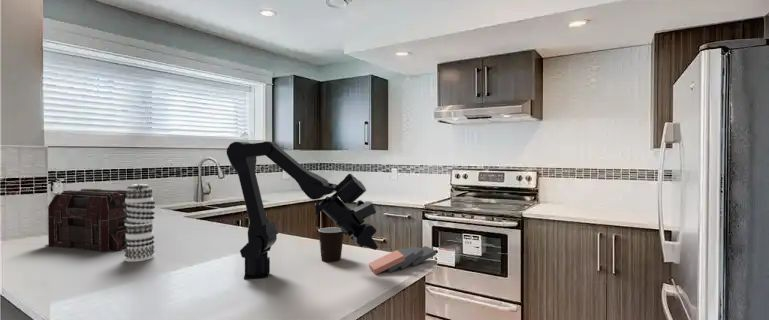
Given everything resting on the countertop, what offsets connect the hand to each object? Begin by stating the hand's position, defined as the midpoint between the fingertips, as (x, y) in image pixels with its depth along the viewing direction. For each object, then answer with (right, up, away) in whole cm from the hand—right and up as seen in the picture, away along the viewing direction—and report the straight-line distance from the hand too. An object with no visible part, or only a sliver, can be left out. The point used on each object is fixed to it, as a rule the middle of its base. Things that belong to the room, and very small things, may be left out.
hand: (376, 248), depth 114 cm
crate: (-109, -7, +36) cm, 115 cm away
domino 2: (+3, -7, +3) cm, 8 cm away
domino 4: (+10, -6, +9) cm, 15 cm away
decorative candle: (-80, -7, +16) cm, 82 cm away
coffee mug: (-15, -7, +16) cm, 24 cm away
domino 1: (-1, -6, +1) cm, 7 cm away
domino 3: (+6, -7, +6) cm, 11 cm away
